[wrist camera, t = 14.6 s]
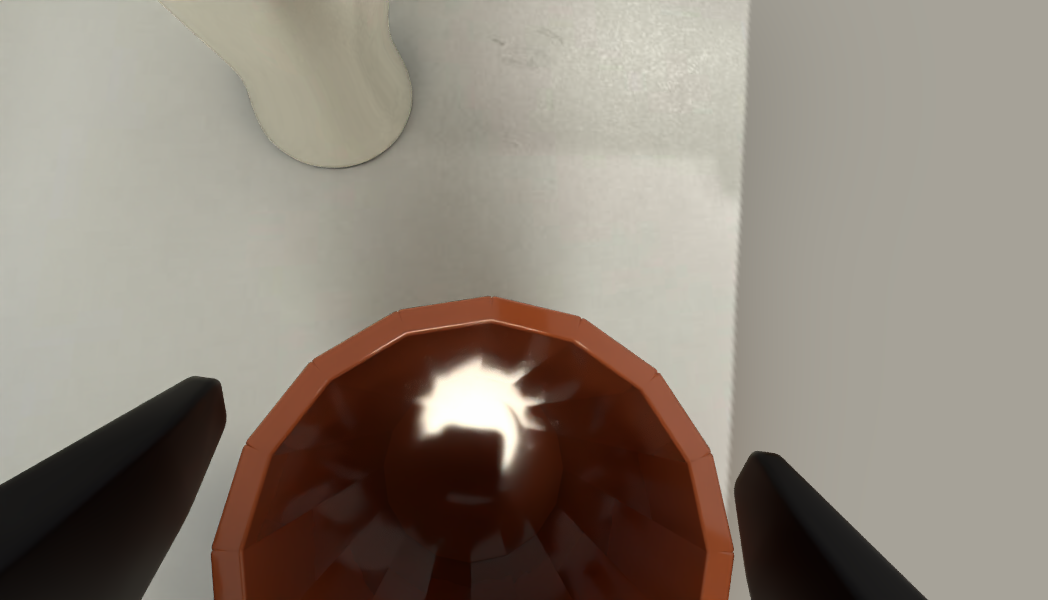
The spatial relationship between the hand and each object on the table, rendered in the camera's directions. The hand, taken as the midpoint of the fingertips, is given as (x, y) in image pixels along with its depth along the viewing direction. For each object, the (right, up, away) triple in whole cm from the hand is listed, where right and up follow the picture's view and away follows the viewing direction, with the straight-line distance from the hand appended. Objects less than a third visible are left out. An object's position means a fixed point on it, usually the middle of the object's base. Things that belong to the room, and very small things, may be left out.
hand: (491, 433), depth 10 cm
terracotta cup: (-1, -4, +11) cm, 11 cm away
